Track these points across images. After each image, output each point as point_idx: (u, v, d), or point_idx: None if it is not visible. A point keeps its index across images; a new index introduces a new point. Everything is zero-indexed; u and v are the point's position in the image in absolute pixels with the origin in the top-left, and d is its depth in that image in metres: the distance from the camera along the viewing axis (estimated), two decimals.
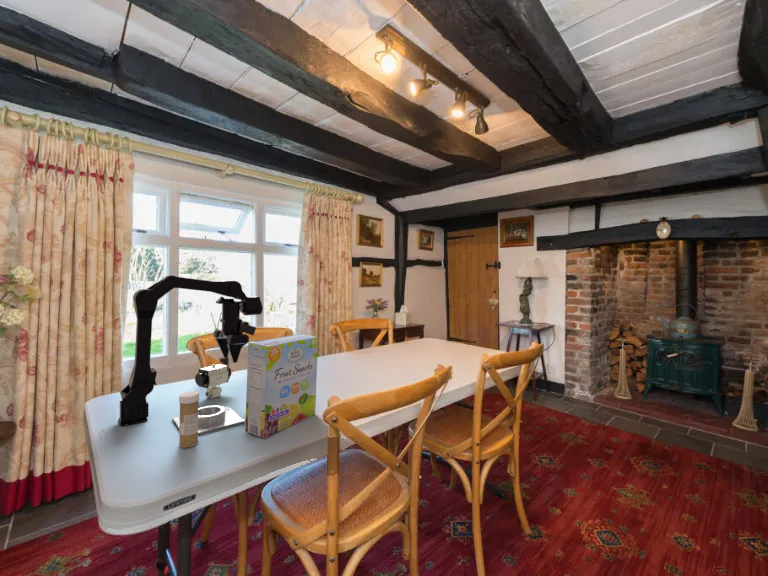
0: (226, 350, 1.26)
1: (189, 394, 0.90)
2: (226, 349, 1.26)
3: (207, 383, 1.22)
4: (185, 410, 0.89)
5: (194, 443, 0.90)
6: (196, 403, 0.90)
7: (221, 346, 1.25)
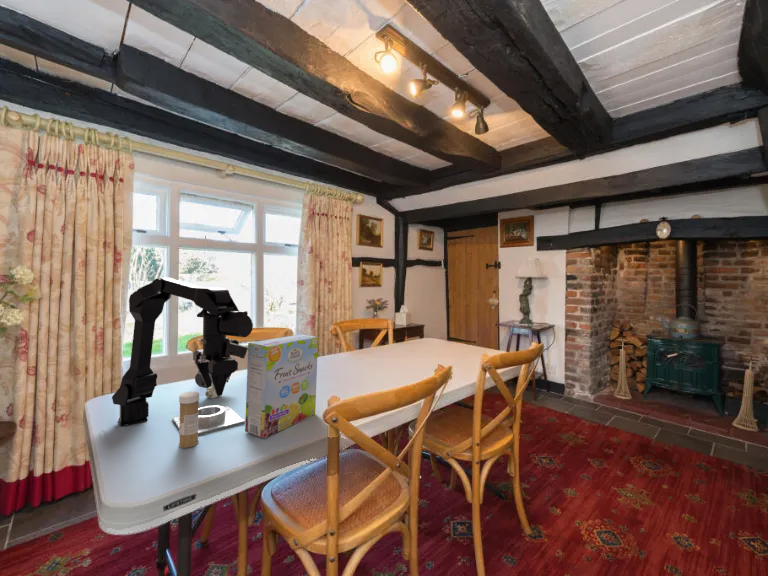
0: (209, 377, 0.98)
1: (189, 394, 0.90)
2: (209, 376, 0.98)
3: None
4: (185, 410, 0.89)
5: (194, 443, 0.90)
6: (196, 403, 0.90)
7: (202, 372, 0.97)
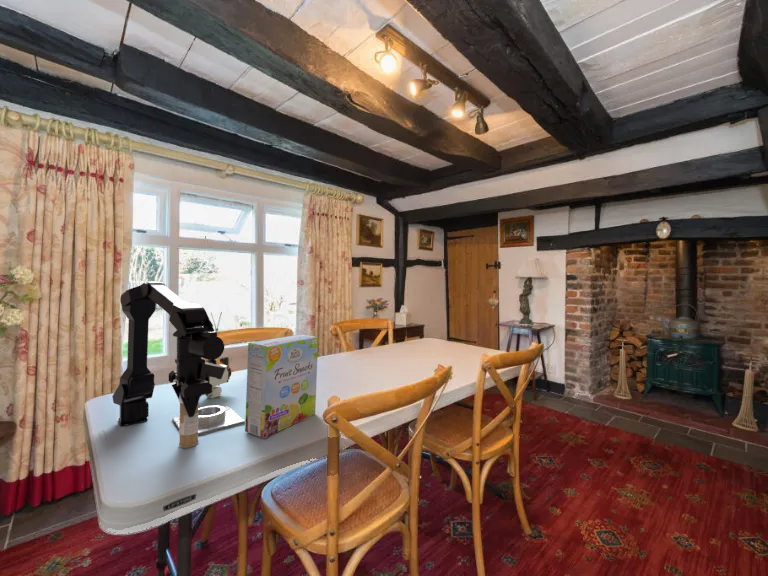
0: None
1: None
2: None
3: None
4: (185, 410, 0.89)
5: (194, 443, 0.90)
6: None
7: (180, 396, 0.92)
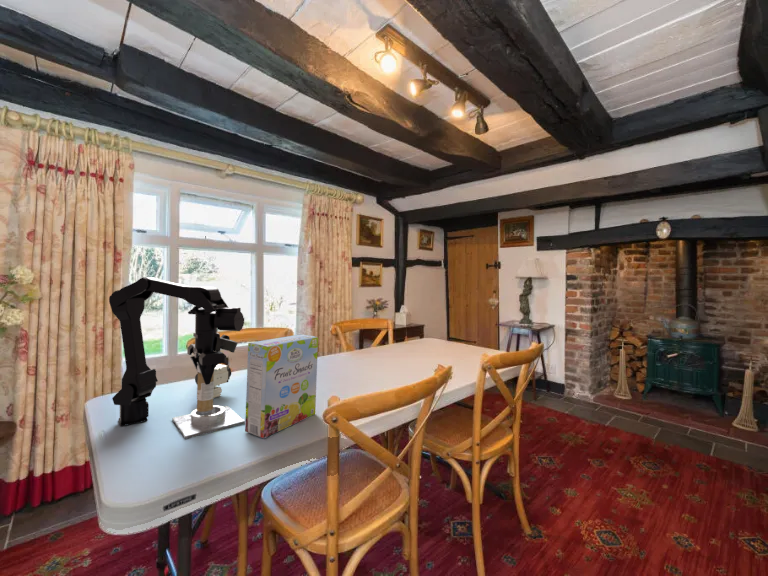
0: None
1: None
2: None
3: None
4: (202, 378, 1.00)
5: (210, 408, 1.02)
6: None
7: None
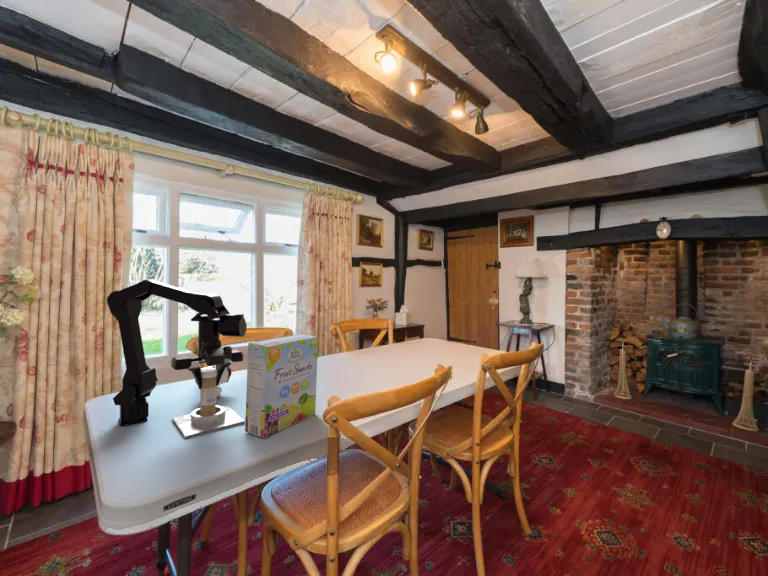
0: (217, 377, 1.06)
1: (206, 370, 1.04)
2: None
3: None
4: None
5: (202, 414, 1.03)
6: (204, 380, 1.03)
7: None
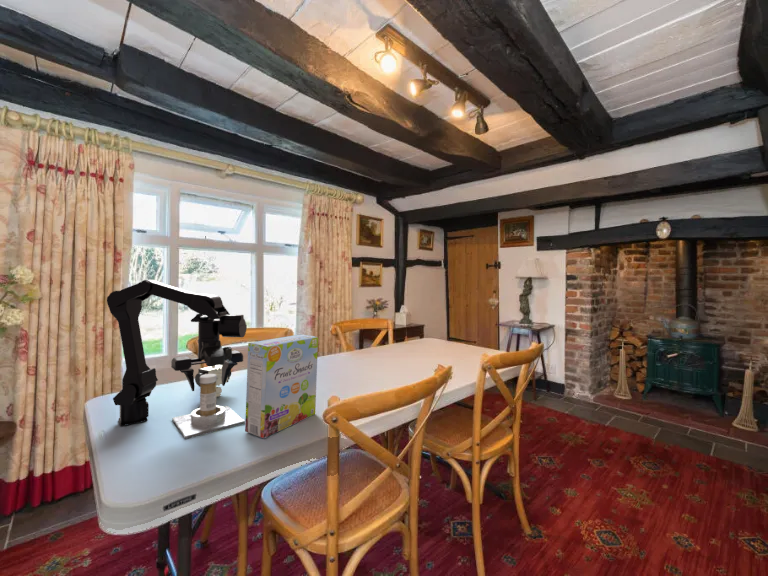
0: (223, 377, 1.08)
1: (205, 375, 1.04)
2: (223, 375, 1.08)
3: None
4: None
5: None
6: (203, 385, 1.03)
7: (222, 370, 1.09)
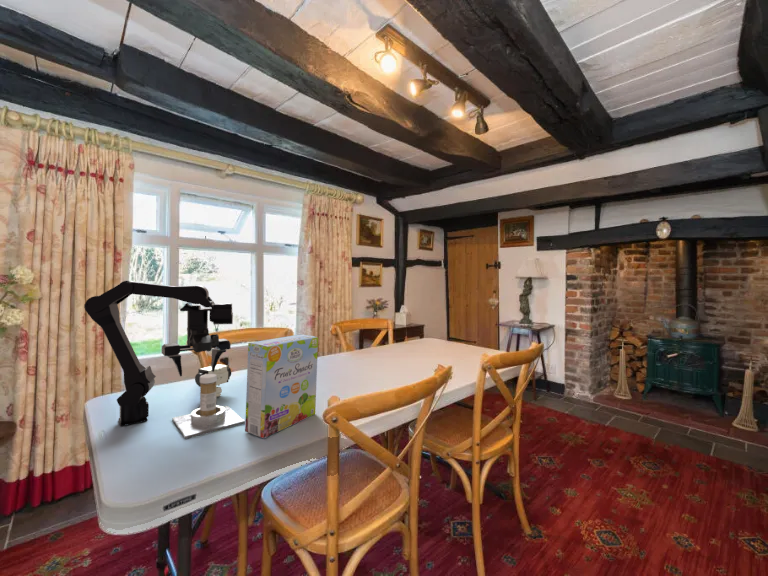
0: (213, 363, 1.14)
1: (206, 375, 1.05)
2: (212, 362, 1.14)
3: None
4: None
5: None
6: (203, 385, 1.03)
7: (212, 357, 1.15)
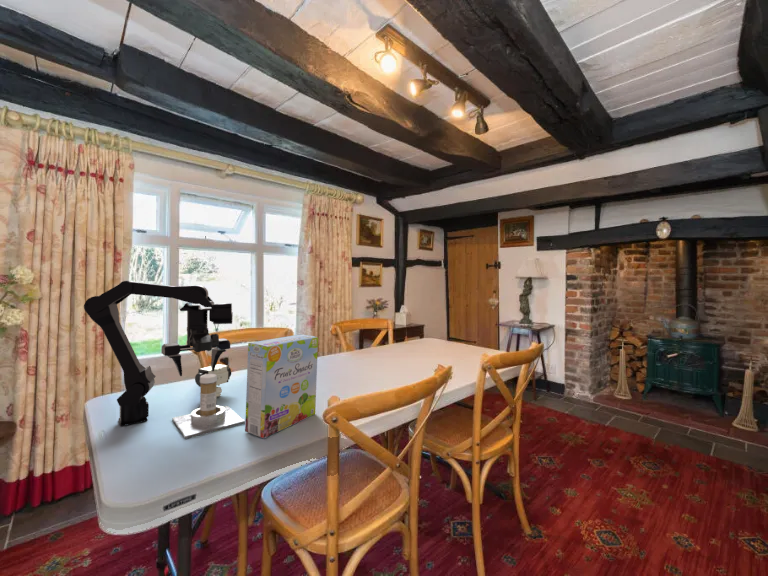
0: (213, 363, 1.14)
1: (206, 375, 1.04)
2: (212, 361, 1.14)
3: None
4: None
5: None
6: (203, 385, 1.03)
7: (211, 357, 1.15)
